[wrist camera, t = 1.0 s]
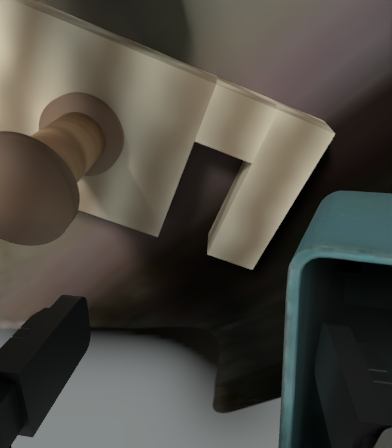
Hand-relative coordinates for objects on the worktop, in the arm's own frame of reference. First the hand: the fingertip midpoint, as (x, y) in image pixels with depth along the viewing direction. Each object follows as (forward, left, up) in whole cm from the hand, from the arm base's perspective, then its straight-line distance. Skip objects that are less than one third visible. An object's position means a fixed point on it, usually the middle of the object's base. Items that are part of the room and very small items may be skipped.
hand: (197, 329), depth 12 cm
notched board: (-5, -4, -25) cm, 26 cm away
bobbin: (-11, -4, -21) cm, 24 cm away
